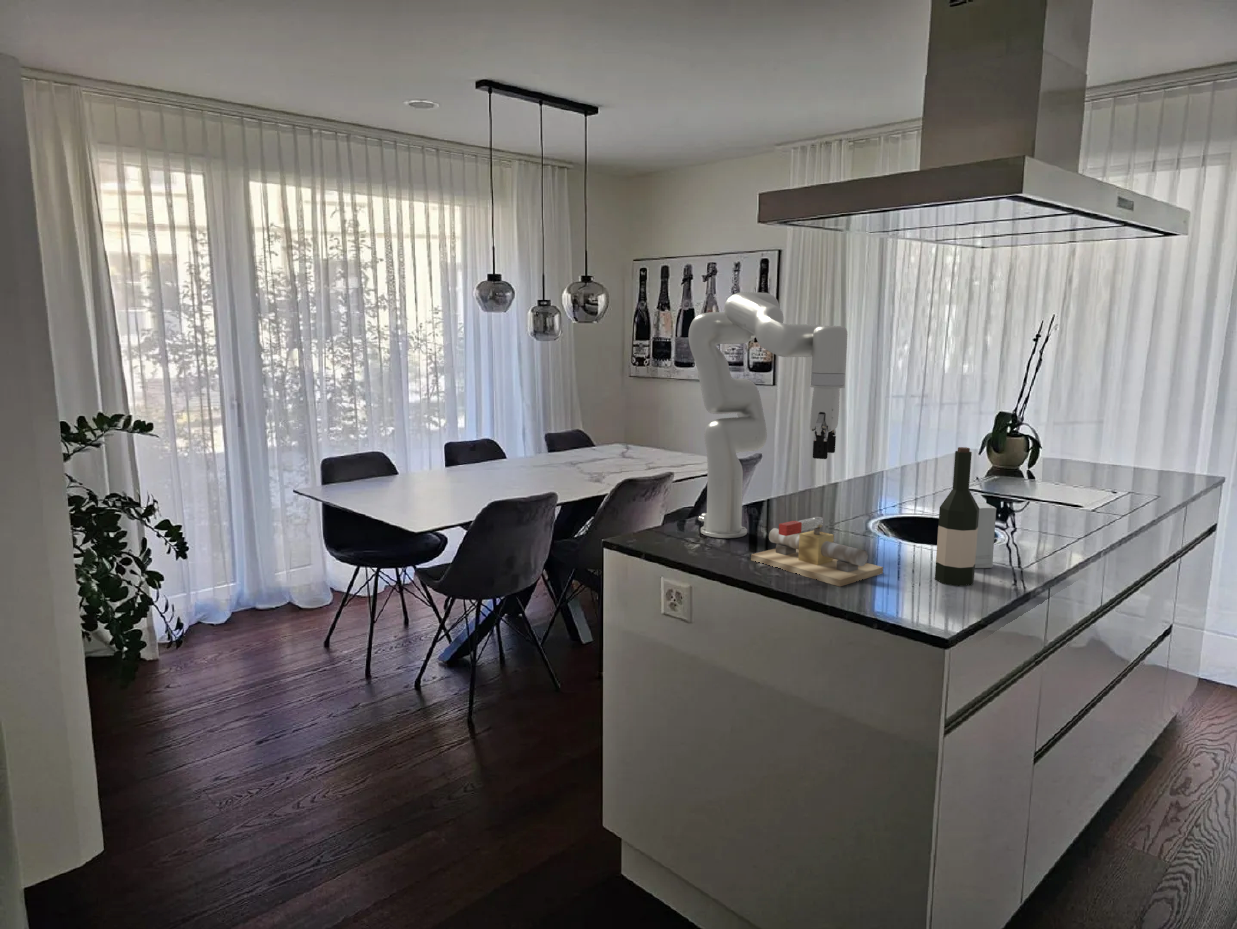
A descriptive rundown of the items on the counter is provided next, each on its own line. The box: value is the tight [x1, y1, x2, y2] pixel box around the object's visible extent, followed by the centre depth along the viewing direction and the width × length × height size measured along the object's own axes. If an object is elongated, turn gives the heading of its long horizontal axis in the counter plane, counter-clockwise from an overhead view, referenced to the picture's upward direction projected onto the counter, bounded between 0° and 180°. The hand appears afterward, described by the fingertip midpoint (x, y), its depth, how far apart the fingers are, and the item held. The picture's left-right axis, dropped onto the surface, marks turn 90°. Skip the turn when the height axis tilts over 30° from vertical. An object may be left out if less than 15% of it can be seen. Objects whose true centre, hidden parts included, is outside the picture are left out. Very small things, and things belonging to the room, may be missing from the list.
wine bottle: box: [934, 446, 979, 587], centre depth 183 cm, size 8×8×30 cm
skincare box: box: [975, 501, 997, 569], centre depth 196 cm, size 8×6×15 cm
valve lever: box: [778, 516, 824, 536], centre depth 191 cm, size 3×14×2 cm, turn 128°
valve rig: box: [750, 527, 884, 587], centre depth 195 cm, size 26×16×10 cm, turn 38°
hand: (824, 455), depth 191 cm, fingers open, 9 cm apart
